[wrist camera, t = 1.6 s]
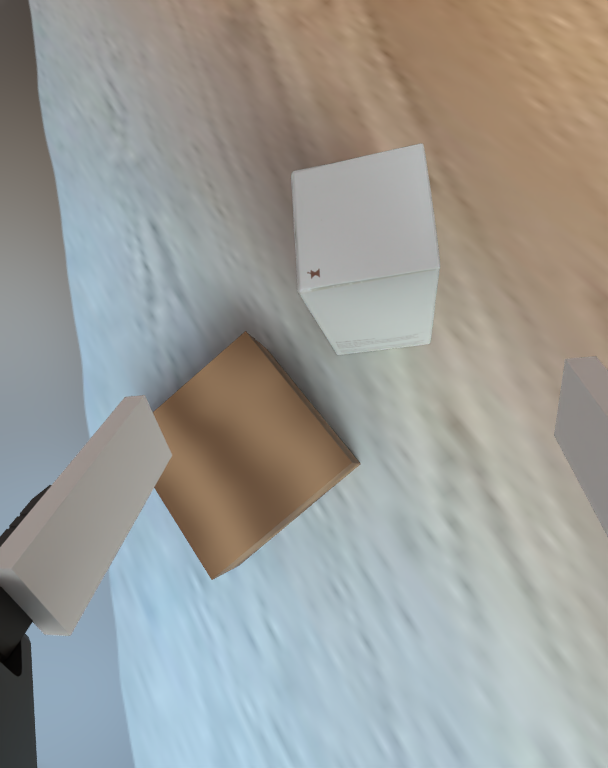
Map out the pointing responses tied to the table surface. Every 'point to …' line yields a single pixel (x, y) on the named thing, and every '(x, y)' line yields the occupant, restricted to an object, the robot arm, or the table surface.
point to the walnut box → (244, 455)
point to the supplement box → (368, 249)
